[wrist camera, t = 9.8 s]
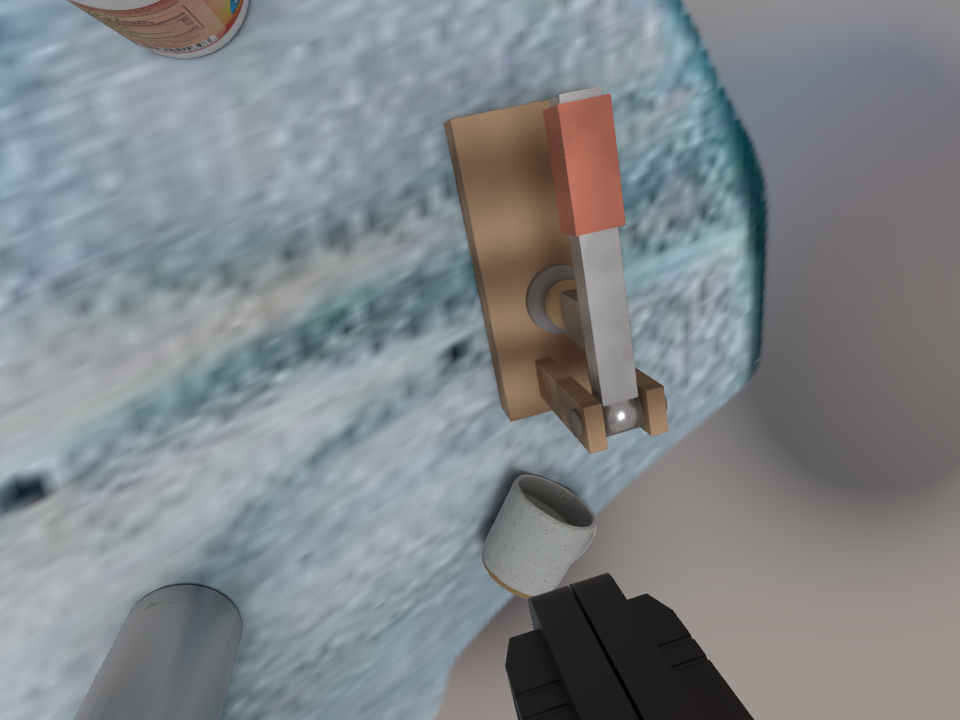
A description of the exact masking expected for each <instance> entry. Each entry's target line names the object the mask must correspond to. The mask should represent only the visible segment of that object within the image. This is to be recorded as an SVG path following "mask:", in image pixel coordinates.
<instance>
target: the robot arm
mask: <svg viewBox="0 0 960 720" xmlns="http://www.w3.org/2000/svg"><path fill="white" fill-rule="evenodd" d="M528 603H529V609H530V614H531V618H532V623H533V627H534V631H530V632H527V633H524V634H521V635H518V636H515V637H512V638H510V639H509V645H508V652H507V658H506V665H505V667H506V671H507V675H508V679H509V684H510V688H511V692H512V696H513V700H514V704H515V709H516V712H517V717H518V720H754V719H753V718H752V716H751V715H750V714H749V712H748V711H747V710H746V708H745V707H744V706H743V704H742V703H741V702H740V700H739V699H738V698H737V696H736V695H735V693H734V692H733V691H732V689H731V688H730V687H729V685H728V684H727V683H726V681H725V680H724V679H723V677H722V676H721V675H720V673H719V672H718V671H717V669H716V668H715V667H714V665H713V664H712V662H711V661H710V660H708V659H707V657H706V655H705V653H704V652H703V650H702V649H701V648H700V646H699V645H698V644H697V642H696V641H695V640H694V639H692V637H691V634H690V633H689V632H688V630H687V629H686V628H685V626H684V625H683V623H682V622H681V621H680V619H679V618H678V617H677V615H676V614H675V613H674V611H673V610H672V609H670V608H668V607H667V606H665V605H664V604H662V603H660V602H659V601H658V600H656V599H654V598H653V597H651V596H650V595H648V594H644V595H640V596H637V597H635V598H631V599H628V600H627V599H626V597H625V596H624V594H623V593H622V591H621V590H620V588H619V587H618V585H617V584H616V582H615V581H614V579H613V578H612V576H611V575H610V574H608V573H606V574H602V575H599V576H596V577H593V578H589V579H586V580H583V581H580V582H577V583H574V584H570V585H569V588H568V587H567V586H565V587H562V588H559V589H555V590H552V591H549V592H546V593H543V594H540V595H536V596H533V597H530V598H528ZM241 634H242V621H241V618H240V615H239V612H238V611H237V609H236V608H235V606H234V604H233V603H232V602H230V601H229V600H228V599H227V598H226V597H225V596H223V595H222V594H220V593H218V592H217V591H214V590H212V589H209V588H206V587H202V586H196V585H176V586H169V587H166V588H163V589H160V590H157V591H155V592H153V593H151V594H149V595H147V596H146V597H144V598H143V599H142V600H141V601H140V602H138V603H137V604H136V605H135V607H134V608H133V609H132V611H131V612H130V614H129V615H128V617H127V619H126V621H125V623H124V625H123V627H122V629H121V631H120V633H119V634H118V636H117V638H116V640H115V642H114V644H113V646H112V647H111V649H110V651H109V653H108V655H107V657H106V659H105V661H104V663H103V664H102V666H101V668H100V670H99V672H98V674H97V676H96V678H95V680H94V682H93V683H92V685H91V687H90V689H89V691H88V693H87V695H86V697H85V699H84V700H83V702H82V704H81V706H80V708H79V710H78V712H77V714H76V716H75V718H74V719H73V720H220V717H221V713H222V709H223V706H224V702H225V698H226V694H227V690H228V686H229V682H230V678H231V674H232V671H233V667H234V663H235V659H236V655H237V651H238V647H239V643H240V639H241Z"/></svg>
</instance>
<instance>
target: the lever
mask: <svg viewBox="0 0 960 720" xmlns="http://www.w3.org/2000/svg"><path fill="white" fill-rule="evenodd" d="M549 105H550V108H547V109H545V110H543V115H544V122H545V128H546V135H547V142H548V148H549V155H550V161H551V168H552V175H553V181H554V188H555V194H556V201H557V208H558V214H559V221H560V228H561V233H564V234H568V235H569V241H570V248H571V255H572V262H573V268H574V275H575V282H576V289H572V290H568V291H564V292H560V295H561V301H562V308H563V314H564V320H565V327H566V333H567V337H568V338H570V339H571V340H573V341H574V342H575V343H577V344H578V345H579V346H581V347H582V348H584V349H585V350H586V357H587V363H588V370H589V377H590V384H591V390H592V395H593V396H594V397H595V398H596V399H597V400H598V401H599V402H600V403H602V410H603V418H604V425H605V432H606V437H608V436H612V435H615V434H619V433H622V432H626V431H629V430H633V429H636V428H640V427H642V426H643V423H644V414H643V408H642V405H641V402H640V399H639V397H638V390H637V382H636V374H635V365H634V357H633V348H632V340H631V332H630V323H629V315H628V307H627V298H626V290H625V281H624V273H623V265H622V256H621V248H620V240H619V231H618V227H619V226H623V225H626V224H625V215H624V206H623V198H622V189H621V180H620V171H619V163H618V154H617V145H616V137H615V128H614V119H613V111H612V102H611V94H607V95H602V89H601V86H598V87H593V88H588V89H583V90H578V91H573V92H568V93H563V94H559V95H556V96H554V97H552V98H550V99H549Z"/></svg>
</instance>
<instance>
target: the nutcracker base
mask: <svg viewBox="0 0 960 720" xmlns="http://www.w3.org/2000/svg"><path fill="white" fill-rule="evenodd" d="M547 108H550V105H549V100H545V101H540V102H535V103H530V104H525V105H520V106H515V107H510V108H505V109H500V110H495V111H490V112H485V113H480V114H475V115H470V116H465V117H460V118H455V119H450V120H449V121H447V122H446V123H445V124H444V125H445V130H446V135H447V140H448V145H449V150H450V154H451V159H452V164H453V169H454V174H455V179H456V184H457V189H458V194H459V199H460V203H461V208H462V213H463V218H464V223H465V228H466V233H467V238H468V243H469V248H470V253H471V257H472V262H473V267H474V272H475V277H476V282H477V287H478V292H479V297H480V302H481V307H482V311H483V316H484V321H485V326H486V331H487V336H488V341H489V346H490V351H491V356H492V360H493V365H494V370H495V375H496V380H497V385H498V390H499V395H500V400H501V405H502V409H503V410H504V412H505V413H506V415H507V416H508V418H509V419H510V421H515V420H519V419H522V418H526V417H530V416H533V415H537V414H540V413H544V412H548V411H551V410H553V411H554V412H555V414H556V415H557V416H558V417H559V418H560V419H561V421H562V422H563V423H564V424H565V425H566V426H567V427H568V429H569V430H570V431H571V432H572V433H573V435H574V436H575V437H576V438H577V439H578V440H579V441H580V442H581V444H582V445H583V446H584V447H585V448H586V449H587V450H588V452H589V453H590V454H591V453H595V452H598V451H602V450H605V449H608V446H607V439H606V432H605V425H604V418H603V410H602V403H600V402H599V401H598V400H597V399H596V398H595V397H594V396H593V395H592V390H591V384H590V377H589V370H588V363H587V357H586V350H585V349H584V348H582V347H581V346H579V345H578V344H577V343H575V342H574V341H573V340H571V339H570V338H568V337H567V333H566V327H565V320H564V314H563V308H562V301H561V295H560V292H564V291H568V290H572V289H576V282H575V275H574V268H573V262H572V255H571V248H570V241H569V235H568V234H564V233H561V228H560V221H559V214H558V208H557V201H556V194H555V188H554V181H553V175H552V168H551V161H550V155H549V148H548V142H547V135H546V128H545V122H544V115H543V110H545V109H547ZM618 231H619V230H618ZM619 240H620V239H619ZM620 248H621V247H620ZM621 256H622V255H621ZM622 265H623V264H622ZM623 273H624V272H623ZM625 290H626V289H625ZM626 298H627V297H626ZM627 307H628V306H627ZM628 315H629V314H628ZM630 332H631V331H630ZM631 340H632V339H631ZM633 357H634V356H633ZM635 374H636V382H637V390H638V397H639V399H640V402H641V405H642V408H643V414H644V423H643V426H642V427H641V428H642V429H643V430H645V431H646V432H647V433H648V434H649V435H650V436H654V435H657V434H661V433H664V432H668V423H667V413H666V411H667V401H666V397H665V394H664V386H663V385H661V384H659V383H658V382H656V381H655V380H653V379H652V378H650V377H649V376H647V375H646V374H644V373H643V372H641V371H640V370H638V369H637V368H635Z"/></svg>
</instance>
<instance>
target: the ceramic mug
mask: <svg viewBox="0 0 960 720" xmlns="http://www.w3.org/2000/svg"><path fill="white" fill-rule="evenodd" d="M596 529H597V525H596V520H595V517H594V515H593V513H592V511H591V510H590V509H589V508H588V507H587V505H586V504H585V503H583V501H582V500H580V499H579V498H578V497H577V496H575V495H574V494H573V493H572V492H570V491H568V490H567V489H566V488H564V487H562V486H561V485H559V484H557V483H554V482H552V481H550V480H548V479H546V478H542V477H539V476H536V475H530V474H526V475H520V476H518V477H517V478H516V479H515V481H514V483H513V485H512V487H511V489H510V491H509V493H508V495H507V497H506V499H505V501H504V503H503V505H502V507H501V509H500V511H499V513H498V516H497V518H496V520H495V522H494V524H493V525H492V527H491V529H490V531H489V533H488V535H487V538H486V540H485V543H484V547H483V551H482V559H483V563H484V566H485V568H486V570H487V571H488V573H489V574H490V576H491V577H492V578H493V579H494V580H495V581H496V582H497V583H498V584H499V585H500V586H502V587H503V588H505V589H506V590H508V591H509V592H511V593H513V594H515V595H518V596H520V597H523V598H530V597H533V596H536V595H540V594H543V593H546V592H549V591H552V590H554V589H555V588H556V586H558V584H559V583H560V582H561V580H562V578H563V577H564V575H565V573H566V572H567V570H568V568H569V567H570V565H571V563H572V562H574V561H575V560H576V559H577V558H579V557H580V555H582V554H583V553H584V552H585V551H586V549H587V548H588V546H589V545H590V543H591V542H592V540H593V538H594V536H595V533H596Z"/></svg>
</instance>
